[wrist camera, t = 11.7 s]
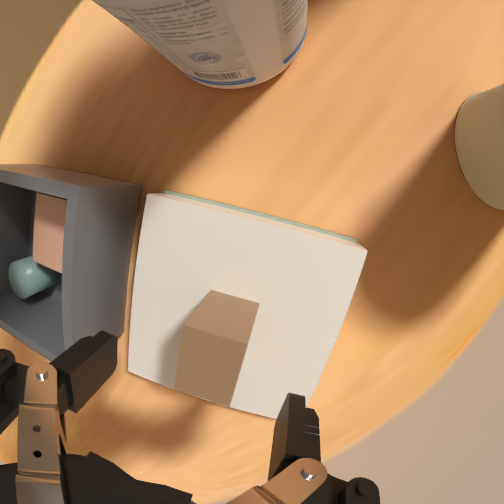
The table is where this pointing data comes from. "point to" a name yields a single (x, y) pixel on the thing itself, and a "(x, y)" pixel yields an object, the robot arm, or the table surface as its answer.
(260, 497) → the robot arm
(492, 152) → the can
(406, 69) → the table surface
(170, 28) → the supplement tub
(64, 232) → the box
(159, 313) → the lid
